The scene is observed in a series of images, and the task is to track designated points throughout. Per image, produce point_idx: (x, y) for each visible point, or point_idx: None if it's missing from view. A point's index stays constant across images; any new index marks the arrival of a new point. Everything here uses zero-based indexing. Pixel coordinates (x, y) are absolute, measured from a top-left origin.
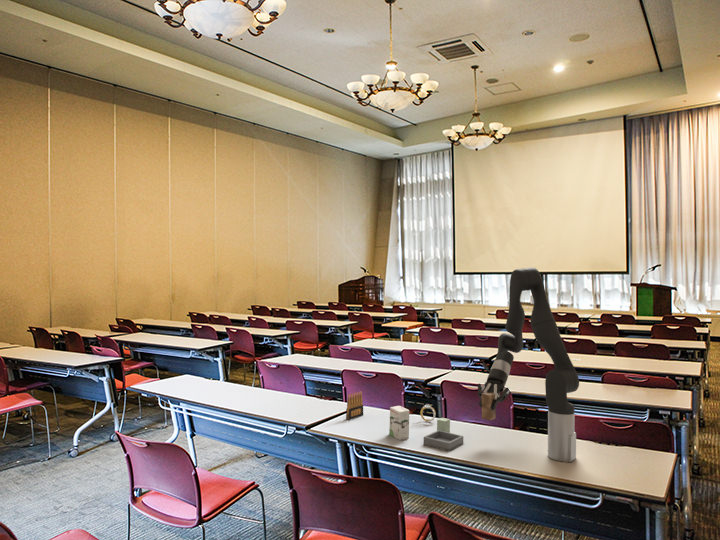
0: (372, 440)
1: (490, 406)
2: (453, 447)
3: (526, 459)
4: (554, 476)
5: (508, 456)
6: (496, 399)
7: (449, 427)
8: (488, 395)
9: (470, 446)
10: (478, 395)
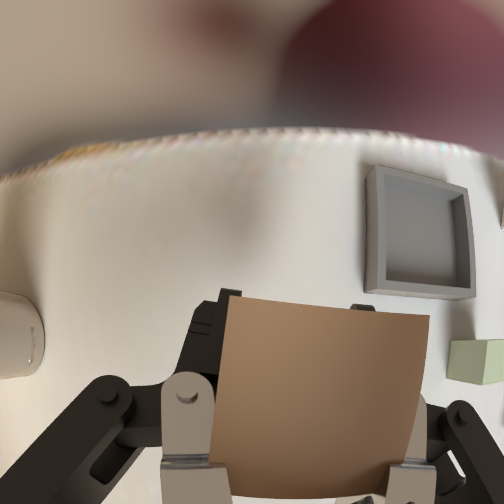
0: None
1: (239, 291)
2: (367, 207)
3: (93, 255)
4: (33, 172)
5: (152, 248)
6: (171, 384)
7: (460, 378)
8: (288, 304)
9: (325, 275)
10: (458, 401)
